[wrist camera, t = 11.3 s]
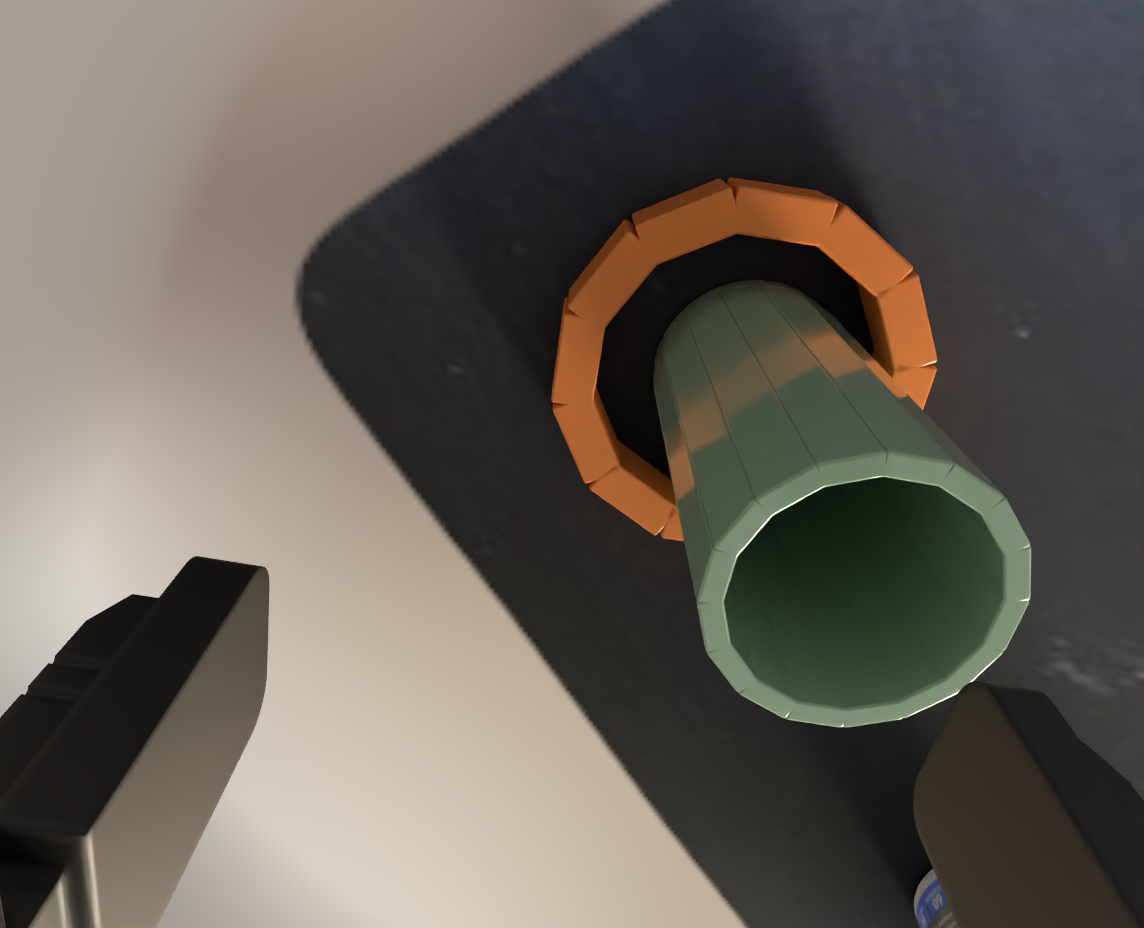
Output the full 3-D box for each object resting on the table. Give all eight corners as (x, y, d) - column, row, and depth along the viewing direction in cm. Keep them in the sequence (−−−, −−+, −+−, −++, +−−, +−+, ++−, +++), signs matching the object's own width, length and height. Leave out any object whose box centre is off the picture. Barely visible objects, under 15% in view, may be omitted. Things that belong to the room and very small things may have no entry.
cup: (676, 262, 20) (749, 426, 11) (869, 298, 21) (1088, 486, 12) (634, 442, 22) (667, 702, 13) (810, 472, 23) (958, 747, 14)
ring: (585, 154, 19) (585, 161, 18) (959, 211, 20) (989, 224, 18) (537, 493, 23) (533, 522, 22) (851, 535, 23) (868, 566, 22)
